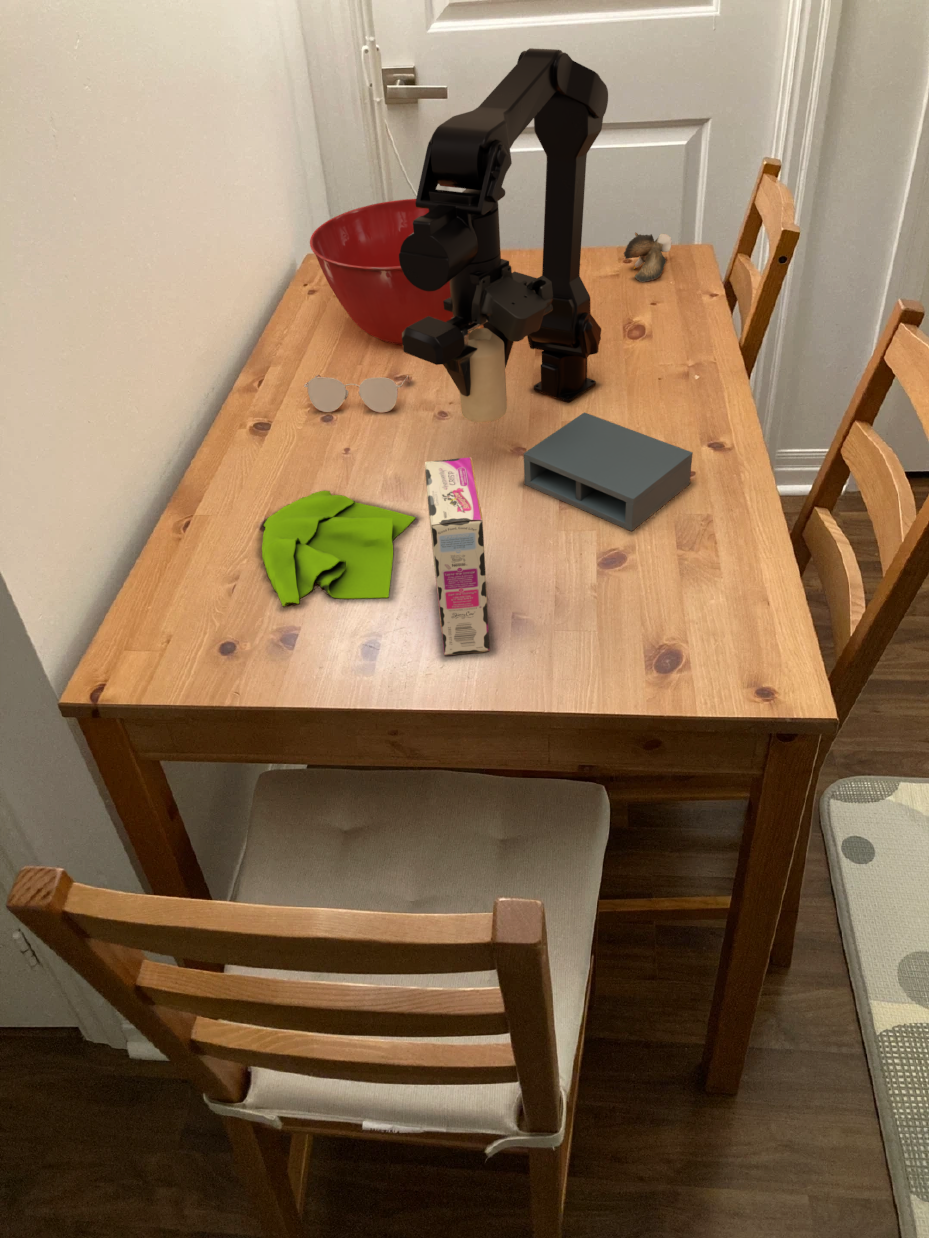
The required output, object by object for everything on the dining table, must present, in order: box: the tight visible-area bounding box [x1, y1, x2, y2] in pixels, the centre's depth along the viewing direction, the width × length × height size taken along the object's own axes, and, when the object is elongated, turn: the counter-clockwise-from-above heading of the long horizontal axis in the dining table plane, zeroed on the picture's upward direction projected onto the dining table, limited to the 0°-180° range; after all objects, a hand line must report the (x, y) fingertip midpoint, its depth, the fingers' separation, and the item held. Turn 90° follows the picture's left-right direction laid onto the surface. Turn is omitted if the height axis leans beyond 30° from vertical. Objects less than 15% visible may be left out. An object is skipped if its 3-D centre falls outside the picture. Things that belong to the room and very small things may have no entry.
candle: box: [458, 327, 508, 424], centre depth 114 cm, size 6×6×10 cm
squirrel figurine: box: [623, 232, 673, 283], centre depth 164 cm, size 8×7×9 cm
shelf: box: [523, 412, 693, 532], centre depth 118 cm, size 12×16×4 cm
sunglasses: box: [303, 374, 411, 414], centre depth 139 cm, size 14×8×5 cm, turn 82°
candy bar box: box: [424, 457, 491, 656], centre depth 97 cm, size 11×5×16 cm, turn 5°
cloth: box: [261, 490, 416, 607], centre depth 112 cm, size 20×22×2 cm
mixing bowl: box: [309, 198, 454, 346], centre depth 151 cm, size 28×28×16 cm
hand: (482, 385), depth 115 cm, fingers closed on candle, 5 cm apart
